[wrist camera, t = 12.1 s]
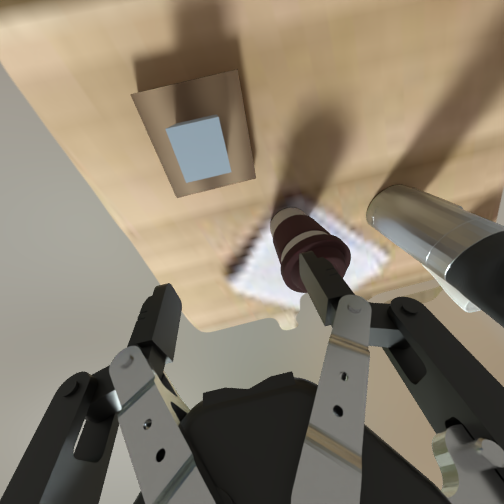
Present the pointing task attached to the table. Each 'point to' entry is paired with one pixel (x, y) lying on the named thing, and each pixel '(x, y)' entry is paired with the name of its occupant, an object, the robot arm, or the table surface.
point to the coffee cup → (304, 245)
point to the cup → (455, 294)
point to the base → (193, 107)
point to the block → (199, 148)
